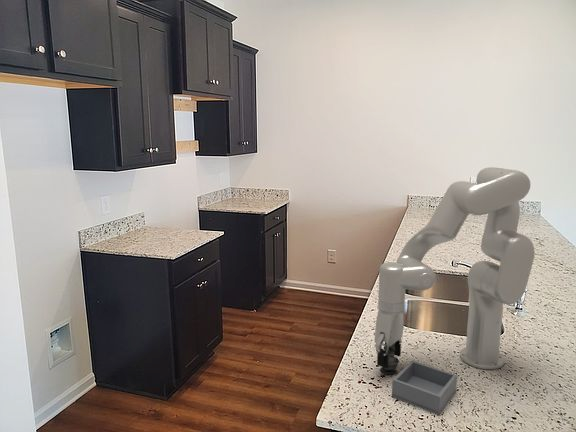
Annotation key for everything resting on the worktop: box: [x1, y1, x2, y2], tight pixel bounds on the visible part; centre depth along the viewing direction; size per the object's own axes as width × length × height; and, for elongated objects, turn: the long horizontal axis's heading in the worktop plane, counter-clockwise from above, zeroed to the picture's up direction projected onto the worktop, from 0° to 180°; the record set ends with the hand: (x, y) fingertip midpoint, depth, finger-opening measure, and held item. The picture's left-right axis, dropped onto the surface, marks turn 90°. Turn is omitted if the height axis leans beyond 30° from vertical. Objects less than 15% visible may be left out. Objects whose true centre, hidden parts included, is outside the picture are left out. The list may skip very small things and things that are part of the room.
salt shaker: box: [379, 342, 400, 377], centre depth 134 cm, size 6×6×12 cm
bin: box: [391, 360, 458, 416], centre depth 123 cm, size 13×13×5 cm
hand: (388, 360), depth 134 cm, fingers open, 7 cm apart
